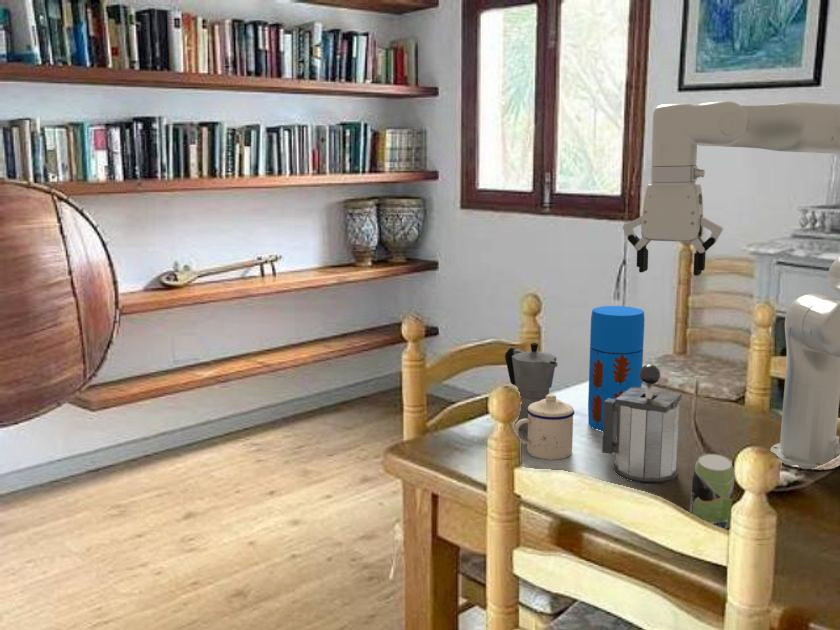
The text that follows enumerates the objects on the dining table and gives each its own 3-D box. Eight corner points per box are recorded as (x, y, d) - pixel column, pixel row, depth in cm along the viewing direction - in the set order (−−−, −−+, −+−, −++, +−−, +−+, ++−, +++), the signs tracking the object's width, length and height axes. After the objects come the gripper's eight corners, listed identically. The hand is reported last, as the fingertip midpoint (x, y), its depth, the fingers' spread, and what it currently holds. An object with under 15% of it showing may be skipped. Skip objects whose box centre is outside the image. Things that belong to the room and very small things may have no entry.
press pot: (684, 467, 157) (688, 393, 154) (666, 488, 148) (670, 409, 145) (614, 454, 164) (617, 382, 161) (593, 473, 155) (595, 397, 152)
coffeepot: (570, 428, 179) (572, 345, 175) (538, 437, 174) (539, 352, 170) (520, 410, 191) (522, 332, 188) (489, 418, 186) (490, 338, 182)
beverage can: (720, 519, 135) (725, 448, 133) (738, 540, 128) (744, 465, 126) (681, 519, 135) (685, 449, 133) (697, 541, 128) (702, 466, 126)
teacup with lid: (561, 442, 171) (562, 386, 168) (581, 458, 162) (583, 399, 160) (505, 448, 168) (506, 391, 165) (522, 464, 159) (523, 405, 157)
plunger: (671, 455, 156) (676, 363, 152) (659, 467, 150) (664, 372, 146) (633, 448, 159) (637, 357, 156) (620, 460, 153) (623, 366, 150)
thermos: (644, 433, 175) (650, 315, 170) (592, 433, 175) (596, 316, 170) (632, 417, 186) (637, 305, 181) (583, 417, 186) (587, 305, 181)
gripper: (729, 175, 147) (724, 272, 150) (631, 175, 155) (628, 267, 159) (720, 177, 140) (715, 279, 144) (618, 177, 149) (616, 273, 153)
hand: (670, 272), depth 151 cm, fingers open, 9 cm apart
